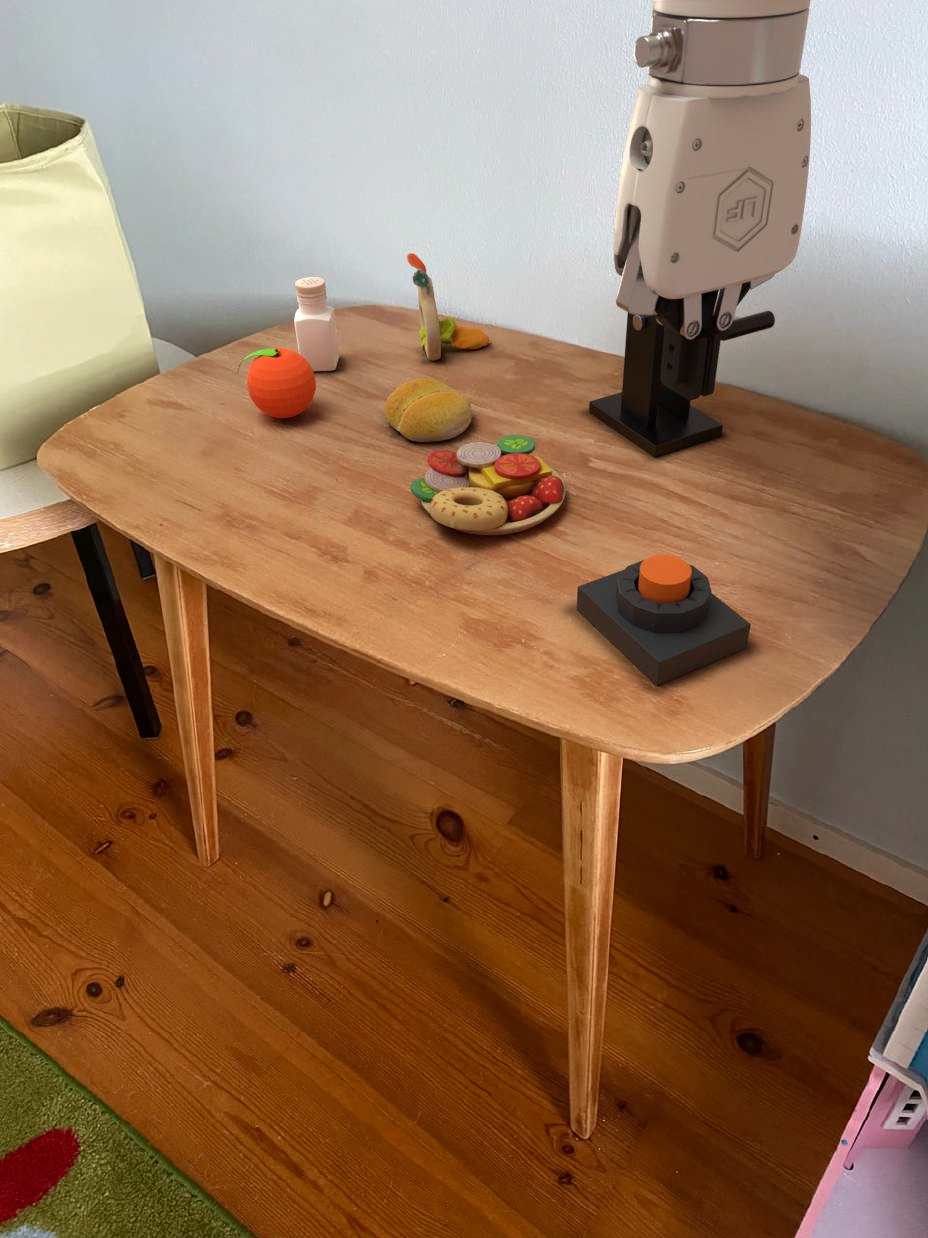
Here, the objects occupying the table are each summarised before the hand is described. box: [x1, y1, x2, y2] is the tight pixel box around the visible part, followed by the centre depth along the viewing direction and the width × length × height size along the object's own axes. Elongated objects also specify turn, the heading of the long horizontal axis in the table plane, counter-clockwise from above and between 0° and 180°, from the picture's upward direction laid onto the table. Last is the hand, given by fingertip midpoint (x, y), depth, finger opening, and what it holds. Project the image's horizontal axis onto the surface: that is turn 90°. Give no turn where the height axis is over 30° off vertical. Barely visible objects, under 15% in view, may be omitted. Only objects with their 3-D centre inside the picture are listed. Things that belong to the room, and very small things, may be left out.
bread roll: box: [383, 377, 473, 443], centre depth 98 cm, size 8×9×4 cm
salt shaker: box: [293, 276, 340, 372], centre depth 108 cm, size 4×4×10 cm
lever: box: [721, 310, 776, 342], centre depth 86 cm, size 13×5×2 cm, turn 28°
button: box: [638, 554, 692, 603], centre depth 70 cm, size 4×4×2 cm
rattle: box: [406, 253, 490, 361], centre depth 109 cm, size 8×8×12 cm
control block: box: [576, 559, 752, 686], centre depth 71 cm, size 10×8×4 cm
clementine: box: [237, 347, 317, 419], centre depth 100 cm, size 8×7×7 cm
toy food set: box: [409, 434, 566, 536], centre depth 86 cm, size 13×13×3 cm
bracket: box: [588, 299, 724, 458], centre depth 94 cm, size 11×8×13 cm
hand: (686, 388), depth 61 cm, fingers closed
